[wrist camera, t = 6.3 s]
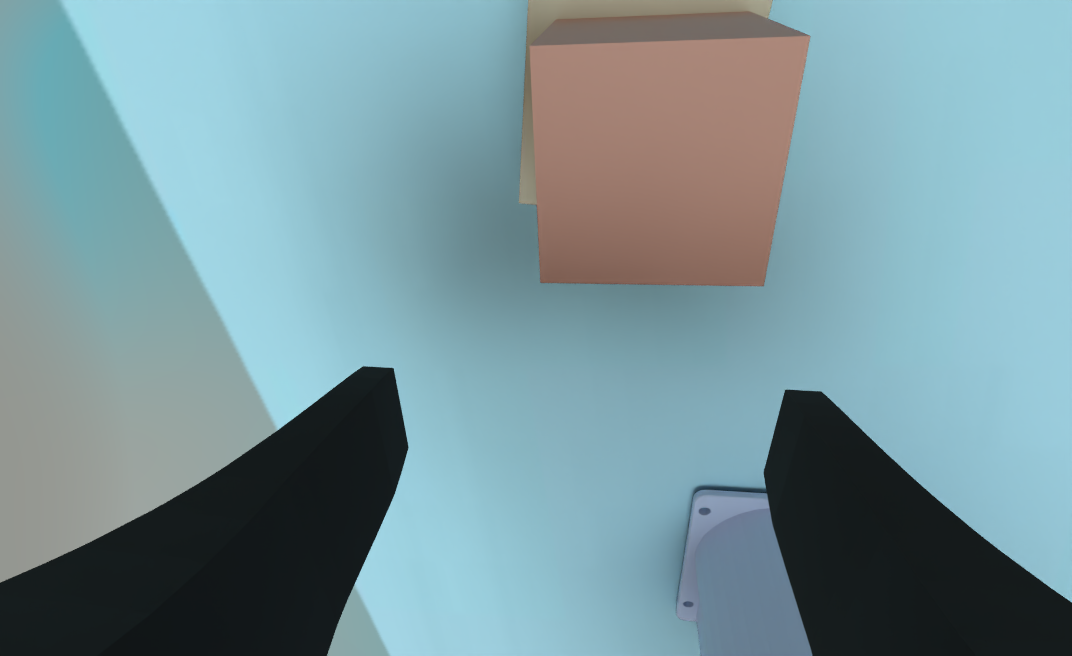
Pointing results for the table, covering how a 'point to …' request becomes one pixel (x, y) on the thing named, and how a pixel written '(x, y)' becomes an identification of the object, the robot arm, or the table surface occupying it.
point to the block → (662, 146)
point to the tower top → (572, 3)
